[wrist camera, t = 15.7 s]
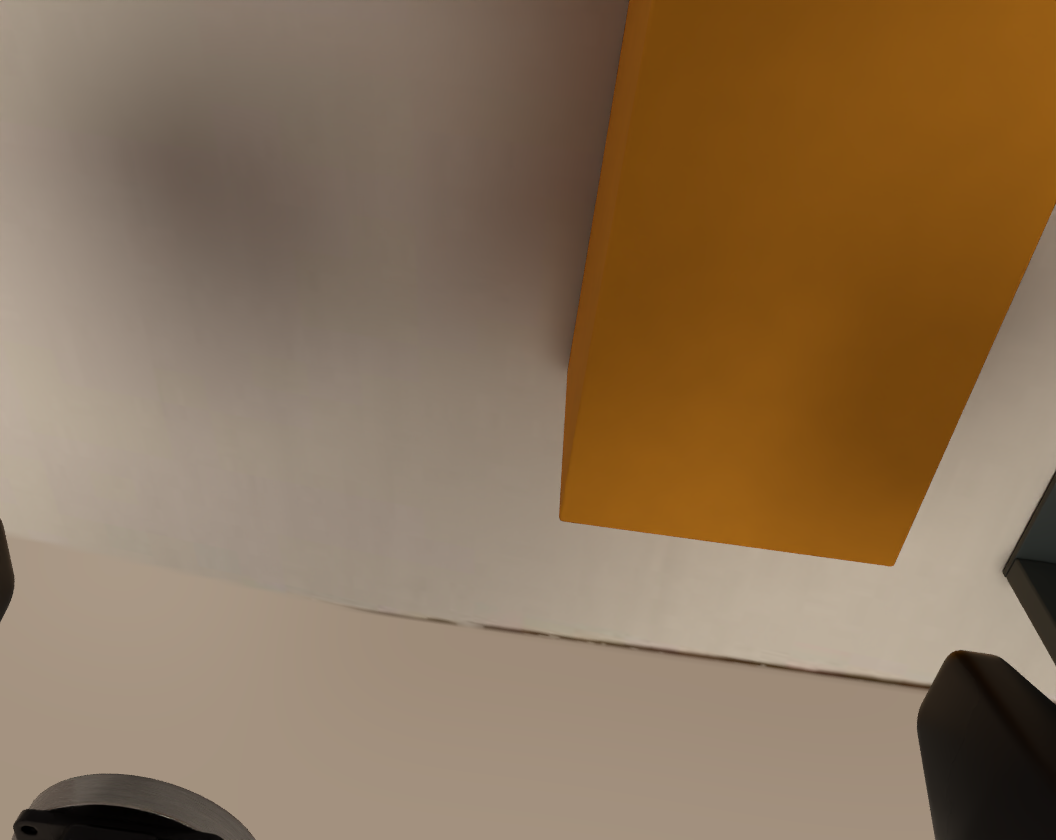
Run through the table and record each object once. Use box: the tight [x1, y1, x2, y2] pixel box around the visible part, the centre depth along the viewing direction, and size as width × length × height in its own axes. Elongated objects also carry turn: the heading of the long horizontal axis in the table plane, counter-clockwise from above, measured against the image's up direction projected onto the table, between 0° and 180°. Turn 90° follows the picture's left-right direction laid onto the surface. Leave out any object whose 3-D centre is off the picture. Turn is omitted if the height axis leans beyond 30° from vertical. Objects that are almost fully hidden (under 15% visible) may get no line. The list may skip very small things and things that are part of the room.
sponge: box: [559, 0, 1056, 566], centre depth 14 cm, size 10×6×5 cm, turn 173°
